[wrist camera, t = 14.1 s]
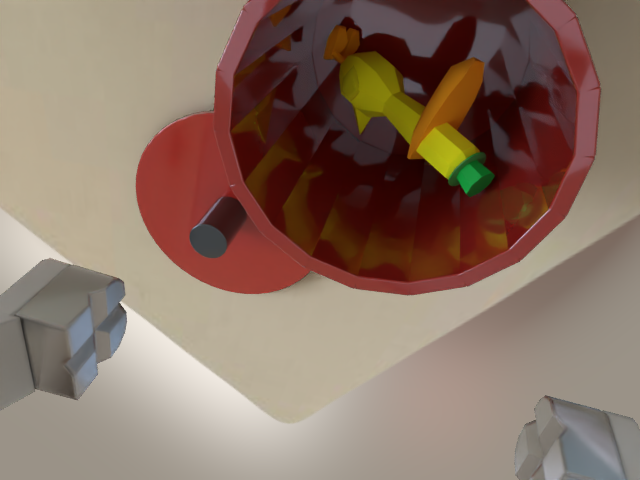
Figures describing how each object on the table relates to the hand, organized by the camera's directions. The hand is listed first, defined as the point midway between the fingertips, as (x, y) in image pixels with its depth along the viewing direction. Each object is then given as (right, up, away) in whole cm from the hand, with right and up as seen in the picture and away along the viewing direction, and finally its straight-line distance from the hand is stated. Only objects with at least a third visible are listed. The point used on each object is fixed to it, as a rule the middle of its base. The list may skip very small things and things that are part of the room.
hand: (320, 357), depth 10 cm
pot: (+6, +13, +20) cm, 25 cm away
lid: (-6, +5, +28) cm, 29 cm away
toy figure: (+1, +14, +20) cm, 24 cm away
